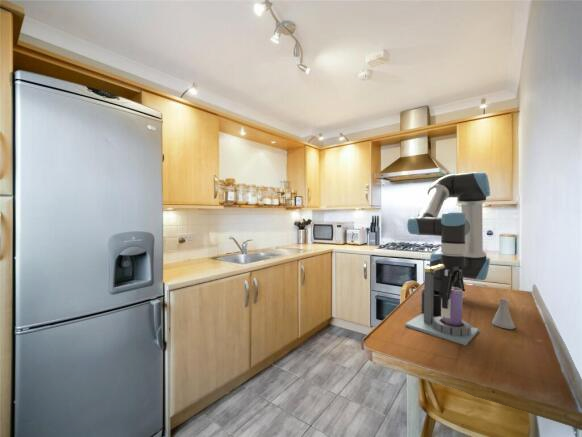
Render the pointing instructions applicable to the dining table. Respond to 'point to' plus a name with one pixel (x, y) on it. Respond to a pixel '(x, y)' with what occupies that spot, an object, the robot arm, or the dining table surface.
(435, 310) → the mug
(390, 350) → the dining table surface
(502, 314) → the flask
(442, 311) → the robot arm
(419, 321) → the seat board
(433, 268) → the lever
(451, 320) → the beverage can
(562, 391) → the dining table surface
